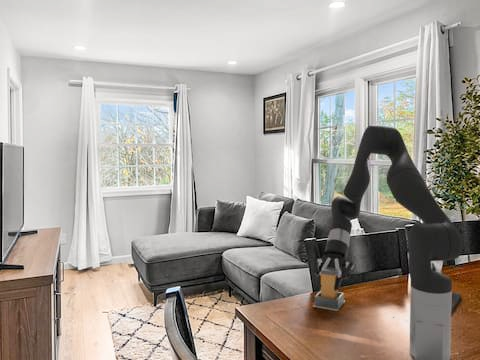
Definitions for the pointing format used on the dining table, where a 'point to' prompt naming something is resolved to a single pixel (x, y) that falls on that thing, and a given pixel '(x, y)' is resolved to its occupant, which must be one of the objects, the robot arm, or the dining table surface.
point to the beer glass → (436, 266)
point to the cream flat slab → (328, 308)
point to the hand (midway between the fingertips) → (327, 288)
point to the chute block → (328, 283)
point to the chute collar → (329, 301)
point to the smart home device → (455, 300)
